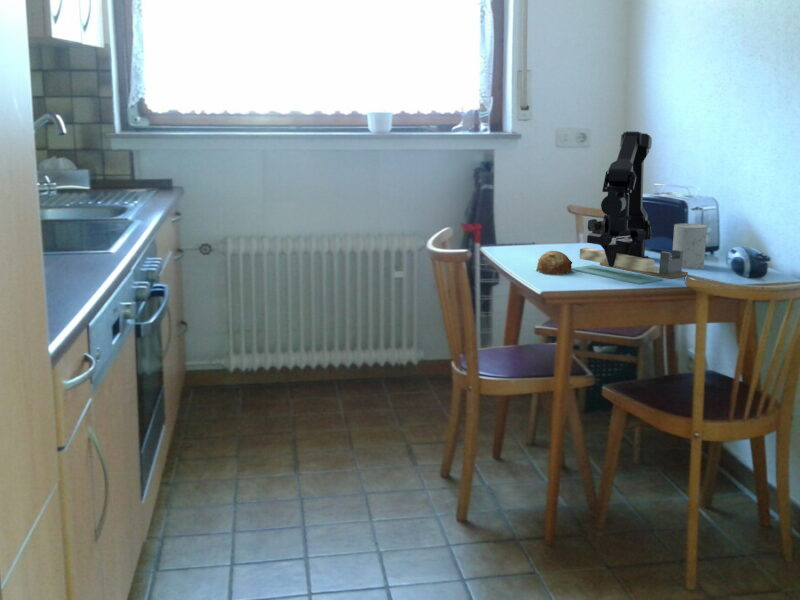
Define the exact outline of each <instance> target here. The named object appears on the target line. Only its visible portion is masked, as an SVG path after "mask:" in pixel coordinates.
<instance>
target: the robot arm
mask: <svg viewBox="0 0 800 600" xmlns="http://www.w3.org/2000/svg"><path fill="white" fill-rule="evenodd" d="M652 140H653V139H652V136H651V135H649V134H648V133H647V132H646V133H645V132H644V133H642V132H640V131H633V130H632V131H624V132H623V133H622V134H621V136H620V144H619V146H620V149H619V152H618V155H617V158H616V160H615V161H613V162H612V163H610V164H609V168H608V170H606V171H605V175H604V181H603V187H602V190H601V191H602V193H607V196H604V198H603V199H602V201H601V203H600V209H601V211H602V212H603V214H604V216H603V219H602V220H600V221H598V220H597V219H596V218H595V219H594V218H593V219H589V220H587V231H589V233H588V234H587V235H586V243H587V244H588V243H589V244H591V245H592V244H593V245H598V246H600V247H602V250H603V251H605V254H606V257H607V260H608V264H609V266H610V267H609V268H612V267H613V265H614V262H615V259H616V255H617V253H619V254H624V255H630V256H635V257H641V258H646V259H649V255H645V251H646V241H649V240H652V226H651V224H650V220H648V216H649V215H648V212H647V211H646V210H645V209H646V208H645V207H644V206H643V199H644V198H643V197H644V193H643V192H644V163H645V160H646V159H647V156H648V155H649V153H650V150H651V148H652Z"/></svg>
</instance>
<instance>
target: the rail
mask: <svg viewBox="0 0 800 600" xmlns="http://www.w3.org/2000/svg"><path fill="white" fill-rule="evenodd" d="M579 259H580V260H585V261H590V262H595V263H599V264H600V263H604V264H608V260H607V257H606V254H605V251H604V250H603V249H596V248H590V247H583V248H580V249H579ZM614 266H619V267H624V268H629V269H634V270H639V271H645V272H649V271H654V266H655V259H650V258H641V257H635V256H630V255H624V254H619V253H617V255H616V259H615V262H614Z"/></svg>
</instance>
